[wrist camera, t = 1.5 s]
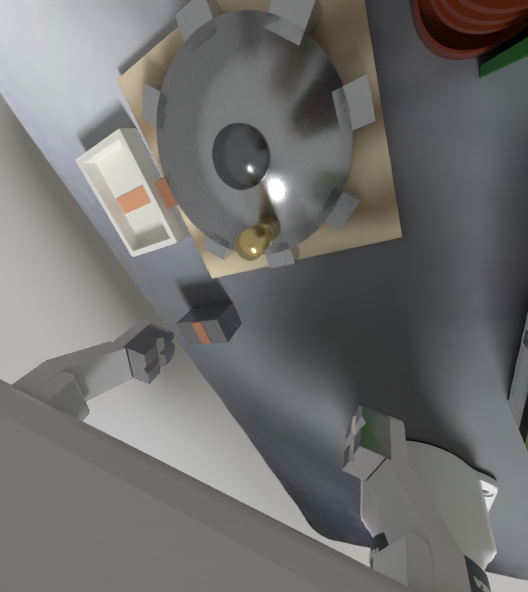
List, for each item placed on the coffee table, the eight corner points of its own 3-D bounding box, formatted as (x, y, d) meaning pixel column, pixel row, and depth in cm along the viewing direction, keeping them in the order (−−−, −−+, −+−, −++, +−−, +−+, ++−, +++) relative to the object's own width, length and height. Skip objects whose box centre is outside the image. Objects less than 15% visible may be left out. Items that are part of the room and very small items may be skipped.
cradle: (188, 236, 34) (177, 242, 32) (145, 250, 38) (132, 257, 36) (136, 128, 29) (119, 128, 27) (92, 158, 33) (74, 159, 31)
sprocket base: (401, 233, 25) (402, 237, 24) (216, 275, 35) (212, 278, 35) (347, -107, 16) (345, -119, 16) (124, 81, 27) (116, 79, 26)
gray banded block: (242, 322, 38) (227, 343, 35) (204, 325, 42) (187, 344, 38) (232, 301, 37) (216, 320, 33) (194, 306, 40) (175, 323, 37)
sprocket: (395, 234, 24) (398, 266, 18) (212, 275, 34) (178, 304, 28) (338, -103, 16) (313, -227, 10) (120, 82, 26) (48, 70, 20)
